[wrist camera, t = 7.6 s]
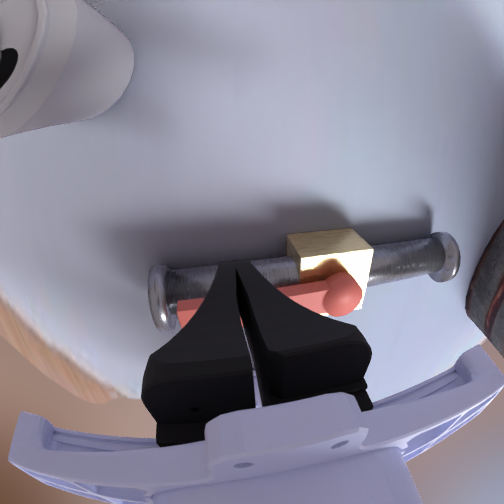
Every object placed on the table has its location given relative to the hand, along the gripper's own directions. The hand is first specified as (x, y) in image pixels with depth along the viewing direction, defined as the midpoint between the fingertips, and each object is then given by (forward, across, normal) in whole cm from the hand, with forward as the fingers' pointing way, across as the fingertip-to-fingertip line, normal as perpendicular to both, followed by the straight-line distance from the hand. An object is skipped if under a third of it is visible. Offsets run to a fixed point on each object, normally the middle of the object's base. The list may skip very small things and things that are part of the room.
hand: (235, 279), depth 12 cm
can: (+10, +9, -12) cm, 18 cm away
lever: (+5, -3, +6) cm, 9 cm away
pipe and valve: (+10, -8, +6) cm, 14 cm away
